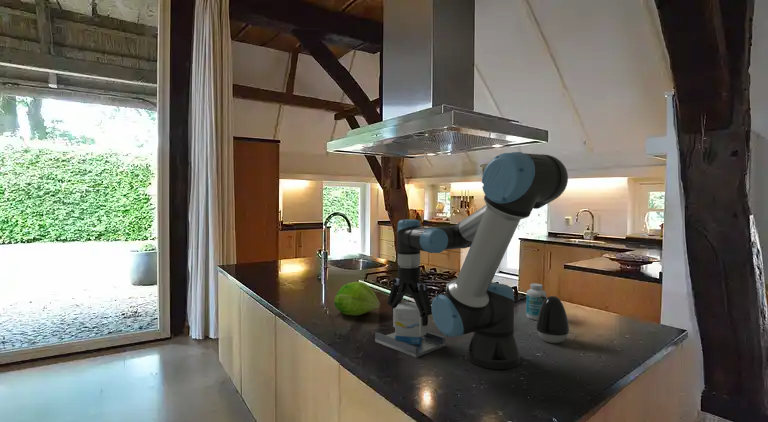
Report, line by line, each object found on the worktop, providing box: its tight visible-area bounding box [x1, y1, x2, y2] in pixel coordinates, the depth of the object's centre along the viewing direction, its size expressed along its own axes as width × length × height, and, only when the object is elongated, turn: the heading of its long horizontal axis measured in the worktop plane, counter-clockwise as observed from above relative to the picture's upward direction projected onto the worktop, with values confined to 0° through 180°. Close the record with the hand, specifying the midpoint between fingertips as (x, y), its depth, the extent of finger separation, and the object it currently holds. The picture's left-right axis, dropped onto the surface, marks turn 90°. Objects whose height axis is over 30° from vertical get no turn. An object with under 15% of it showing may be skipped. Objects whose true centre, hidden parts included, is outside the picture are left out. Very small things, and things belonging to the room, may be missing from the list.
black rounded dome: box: [535, 295, 570, 344], centre depth 138 cm, size 10×10×15 cm
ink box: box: [394, 301, 423, 345], centre depth 136 cm, size 8×8×12 cm
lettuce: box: [333, 281, 381, 317], centre depth 170 cm, size 15×20×14 cm
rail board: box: [374, 330, 446, 359], centre depth 137 cm, size 19×14×3 cm
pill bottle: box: [525, 282, 547, 321], centre depth 163 cm, size 8×7×14 cm
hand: (409, 330), depth 137 cm, fingers closed on ink box, 11 cm apart
